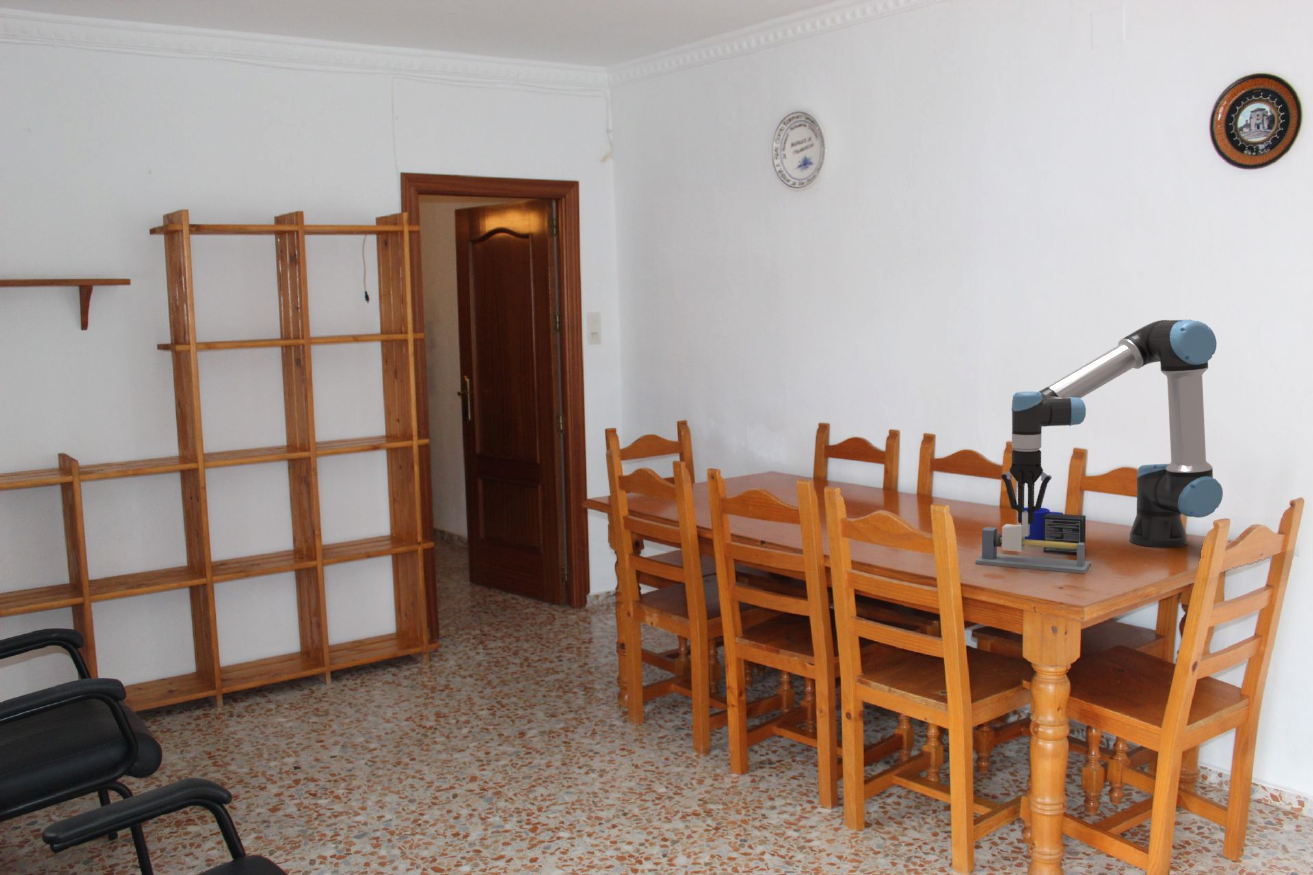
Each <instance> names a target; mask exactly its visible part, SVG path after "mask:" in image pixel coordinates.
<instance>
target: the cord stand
mask: <svg viewBox="0 0 1313 875" xmlns="http://www.w3.org/2000/svg"><path fill="white" fill-rule="evenodd" d="M1022 545H1025V546H1030V547H1031V546H1032V547H1041V548H1044V547H1053V548H1065V549H1077V555H1076V560H1074V559H1065V558H1053V557H1052V558H1051V557H1049V558H1048V557H1040V556H1030V555H1029V556H1028V555H1017V554H1016V555H1015V554H1007V553H1006V554H1005V553H1004V554H1003V553H998V547H999V548H1002V533H998V527H991V526H985V527H983V529H982V530H981V555H980V556H979V557H977V559H975V565H985V566H996V567H1007V568H1015V569H1016V568H1019V569H1028V570H1038V571H1039V570H1041V571H1050V572H1060V573H1061V572H1062V573H1063V572H1064V573H1070V574H1072V573H1073V574H1083V575H1084V574H1086V572H1087V571H1088V570H1089V568H1090V567H1091V565H1092V563H1091V562H1092V561H1087V560H1086V558H1085V557H1086V556H1085V555H1086V554H1085V553H1086V542H1085V543H1080V542H1079V543H1065V542H1053V541H1040V540H1027V539H1022Z"/></svg>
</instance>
